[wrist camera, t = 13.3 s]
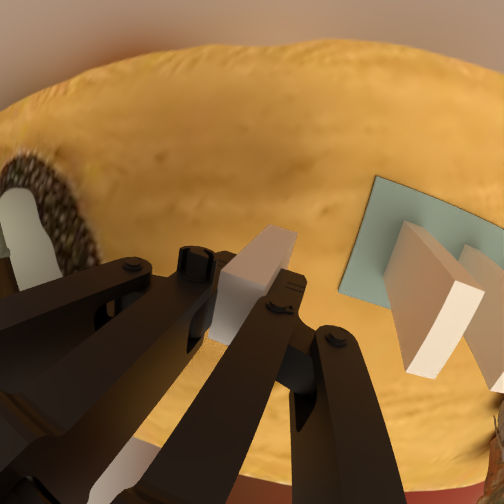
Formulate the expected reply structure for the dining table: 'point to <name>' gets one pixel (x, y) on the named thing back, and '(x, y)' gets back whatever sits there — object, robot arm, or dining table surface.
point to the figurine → (494, 476)
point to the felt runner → (388, 228)
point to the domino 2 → (487, 317)
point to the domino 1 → (428, 299)
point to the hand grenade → (500, 426)
